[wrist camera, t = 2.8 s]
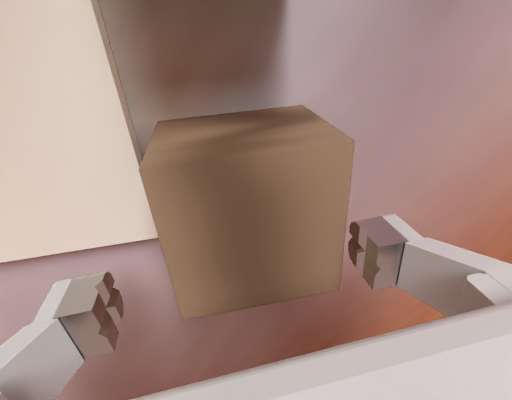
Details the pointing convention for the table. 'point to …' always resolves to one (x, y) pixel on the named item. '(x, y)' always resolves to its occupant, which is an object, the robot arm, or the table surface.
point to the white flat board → (64, 135)
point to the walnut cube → (249, 206)
